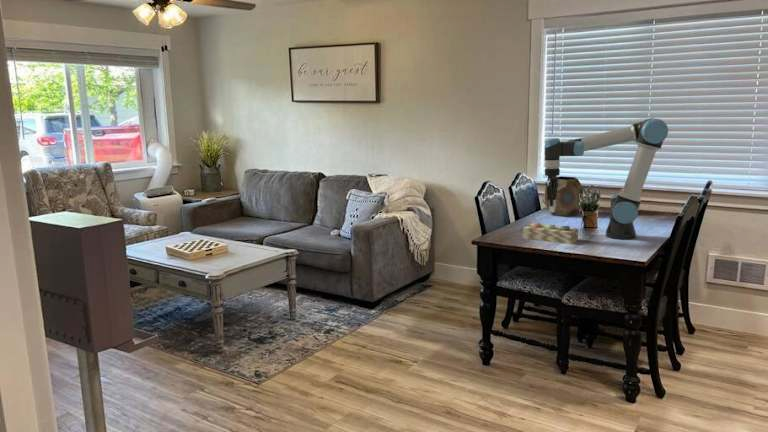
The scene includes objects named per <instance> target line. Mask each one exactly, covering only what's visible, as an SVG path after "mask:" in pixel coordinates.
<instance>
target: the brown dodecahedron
mask: <svg viewBox="0 0 768 432" xmlns="http://www.w3.org/2000/svg"><path fill="white" fill-rule="evenodd" d="M556 177H557V180H559V181H558V189H557V200H555V212H549V213H550V214H551V216H556V215H557V216H559V217H573V216H577V215H578V213H579V212H581V209H580V206H579V202H580V200H579V194H580V193H581V194H582V195H583V196H584V187H583V185H582V183H581V182H580V180H579V179H578V178H577V177H575V176H556ZM544 195H545V197H544V203H543V204H544V205H545V207H546V209H547V210H548V211H549V200H547V189H546V186H545V188H544ZM572 215H573V216H572Z"/></svg>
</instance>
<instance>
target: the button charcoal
mask: <svg viewBox="0 0 768 432" xmlns="http://www.w3.org/2000/svg"><path fill="white" fill-rule="evenodd" d="M560 227H561V230H562V231H570V228H571V226H570V225H569V226H568V225H561V226H560Z"/></svg>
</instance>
